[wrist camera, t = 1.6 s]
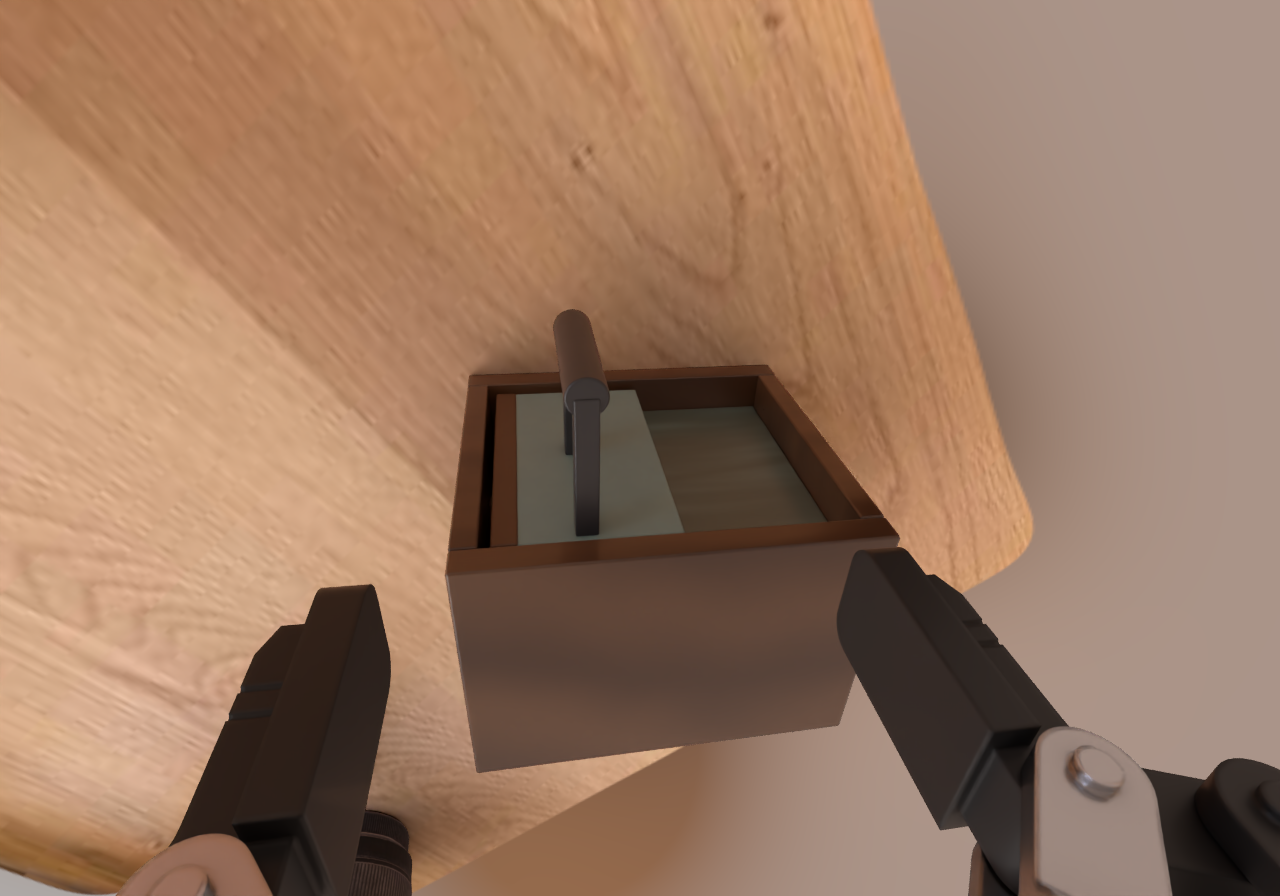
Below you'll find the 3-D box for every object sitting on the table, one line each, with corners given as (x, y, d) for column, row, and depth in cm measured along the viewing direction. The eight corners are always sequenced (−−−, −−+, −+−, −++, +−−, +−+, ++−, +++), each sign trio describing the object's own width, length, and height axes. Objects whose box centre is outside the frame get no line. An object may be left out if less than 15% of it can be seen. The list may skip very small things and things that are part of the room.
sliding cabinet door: (485, 269, 24) (471, 385, 16) (640, 267, 24) (701, 377, 17) (497, 408, 27) (491, 564, 19) (634, 402, 27) (683, 549, 20)
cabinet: (469, 374, 27) (444, 574, 17) (767, 364, 29) (901, 536, 19) (487, 541, 32) (476, 774, 22) (742, 522, 34) (839, 726, 24)
